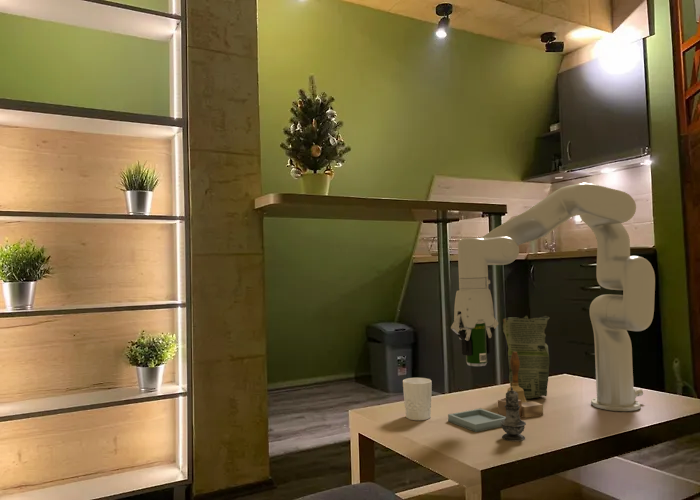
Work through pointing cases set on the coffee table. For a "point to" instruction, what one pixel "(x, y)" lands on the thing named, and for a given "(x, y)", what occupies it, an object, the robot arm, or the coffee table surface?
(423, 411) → the white cup
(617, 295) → the robot arm
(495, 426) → the tray
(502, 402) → the walnut cube
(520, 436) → the grey turned upright piece
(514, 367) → the hand bell
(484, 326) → the green soda can
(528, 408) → the light oak block
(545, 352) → the pouch
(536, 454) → the coffee table surface
